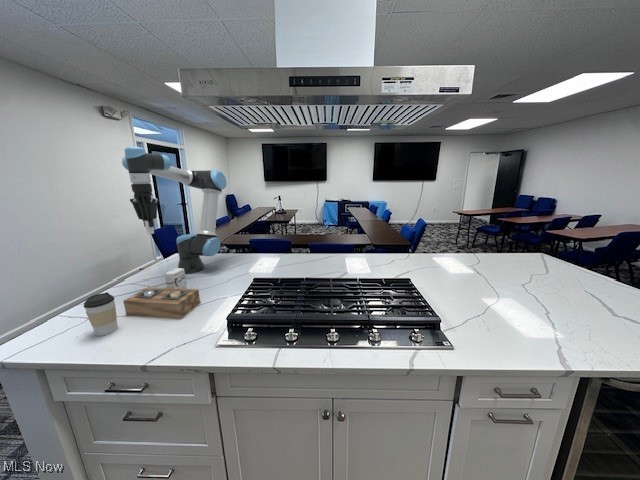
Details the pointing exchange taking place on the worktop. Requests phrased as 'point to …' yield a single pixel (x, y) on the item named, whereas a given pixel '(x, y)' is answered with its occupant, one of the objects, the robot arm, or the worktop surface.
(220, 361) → the worktop surface
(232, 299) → the worktop surface
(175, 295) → the birch dowel
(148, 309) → the walnut block
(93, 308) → the coffee cup
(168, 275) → the ink box
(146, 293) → the steel pin
